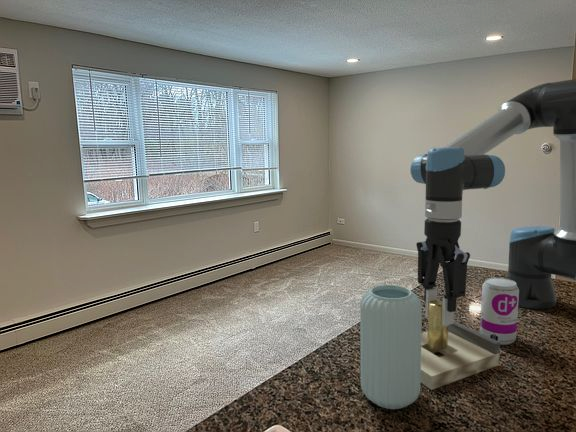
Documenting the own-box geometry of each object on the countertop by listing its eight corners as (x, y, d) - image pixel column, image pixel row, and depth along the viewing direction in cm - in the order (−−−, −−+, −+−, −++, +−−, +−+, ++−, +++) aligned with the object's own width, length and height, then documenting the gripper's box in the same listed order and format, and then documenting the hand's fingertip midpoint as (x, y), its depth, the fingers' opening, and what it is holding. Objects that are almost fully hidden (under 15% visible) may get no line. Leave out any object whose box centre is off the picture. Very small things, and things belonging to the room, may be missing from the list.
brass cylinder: (437, 339, 99) (439, 299, 97) (451, 347, 95) (454, 305, 94) (423, 343, 97) (424, 302, 96) (437, 351, 93) (439, 308, 92)
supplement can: (520, 346, 102) (524, 288, 100) (484, 344, 104) (487, 286, 101) (510, 332, 110) (513, 277, 107) (476, 330, 112) (478, 276, 109)
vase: (357, 381, 90) (356, 282, 86) (411, 380, 89) (413, 280, 85) (365, 416, 78) (364, 303, 75) (427, 415, 78) (430, 301, 74)
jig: (444, 337, 108) (445, 316, 107) (498, 365, 94) (500, 342, 93) (382, 355, 100) (382, 334, 99) (431, 389, 86) (432, 365, 85)
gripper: (402, 215, 98) (400, 310, 101) (462, 227, 82) (457, 338, 86) (426, 212, 101) (424, 304, 105) (489, 223, 85) (483, 331, 89)
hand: (439, 319), depth 95 cm, fingers closed on brass cylinder, 4 cm apart
